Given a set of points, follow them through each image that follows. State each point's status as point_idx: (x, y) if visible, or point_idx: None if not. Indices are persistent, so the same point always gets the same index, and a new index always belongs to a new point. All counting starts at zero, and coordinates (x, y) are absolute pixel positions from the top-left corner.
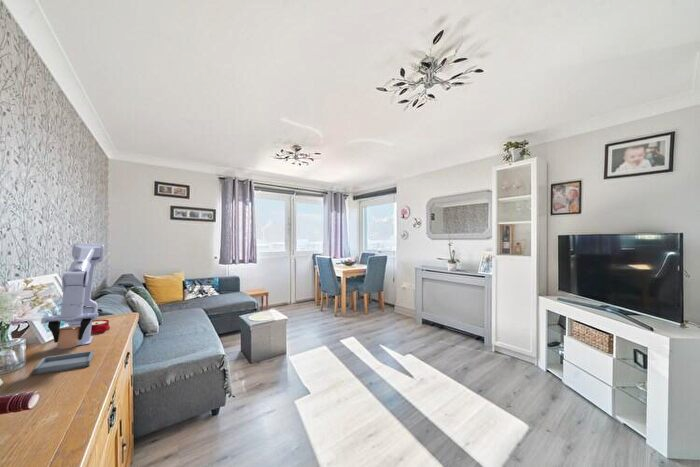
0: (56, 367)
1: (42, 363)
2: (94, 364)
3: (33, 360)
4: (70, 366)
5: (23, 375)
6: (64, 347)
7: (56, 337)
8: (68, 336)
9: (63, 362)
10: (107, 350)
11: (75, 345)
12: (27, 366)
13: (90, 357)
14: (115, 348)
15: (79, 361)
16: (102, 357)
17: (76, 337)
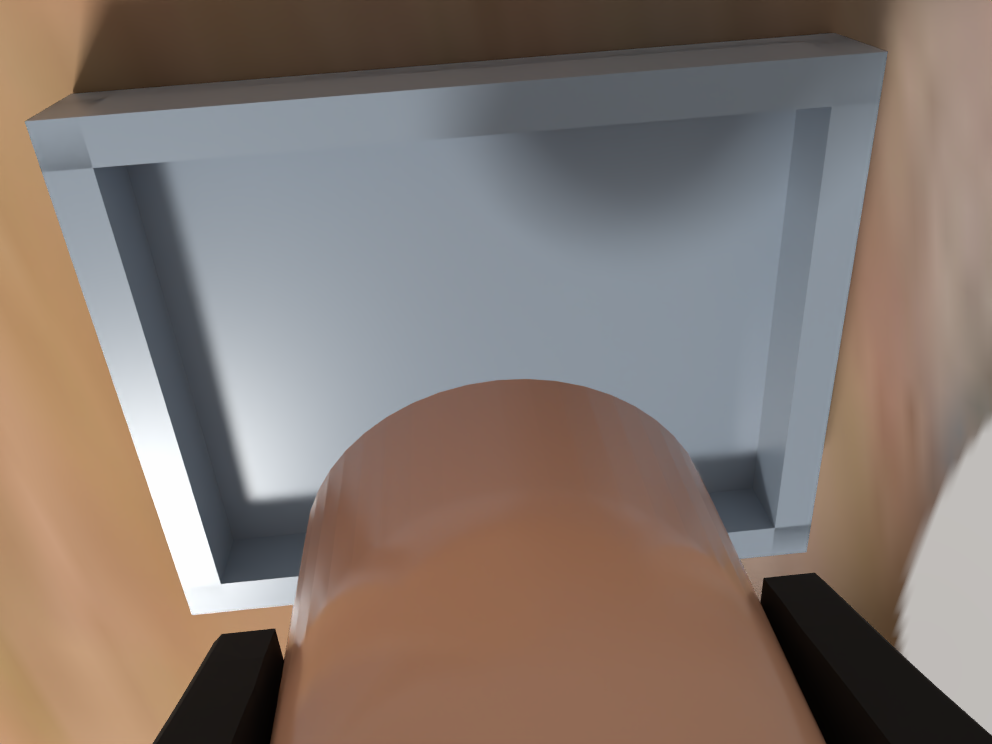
0: (554, 67)
1: (784, 362)
2: (11, 152)
3: (870, 605)
4: (344, 79)
5: (948, 95)
6: (543, 398)
7: (868, 692)
8: (517, 657)
9: (522, 373)
10: (94, 676)
11: (333, 480)
12: (917, 439)
13: (96, 307)
14: (12, 714)
15: (217, 157)
16: (32, 439)
17: (300, 665)
